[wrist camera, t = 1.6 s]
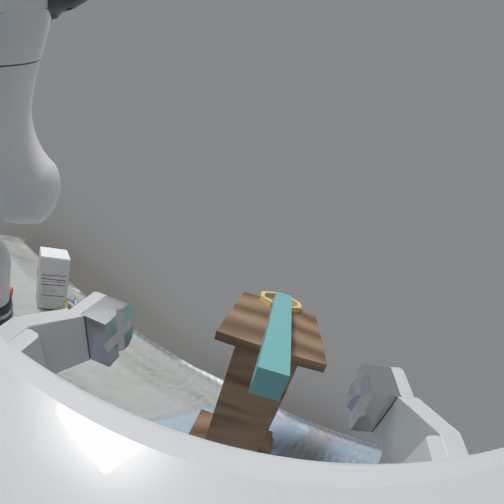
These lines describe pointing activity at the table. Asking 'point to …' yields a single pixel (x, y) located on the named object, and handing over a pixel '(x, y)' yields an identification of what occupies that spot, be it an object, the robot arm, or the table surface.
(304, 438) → the table surface
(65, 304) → the ring
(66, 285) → the supplement box
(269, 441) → the stand
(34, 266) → the table surface
